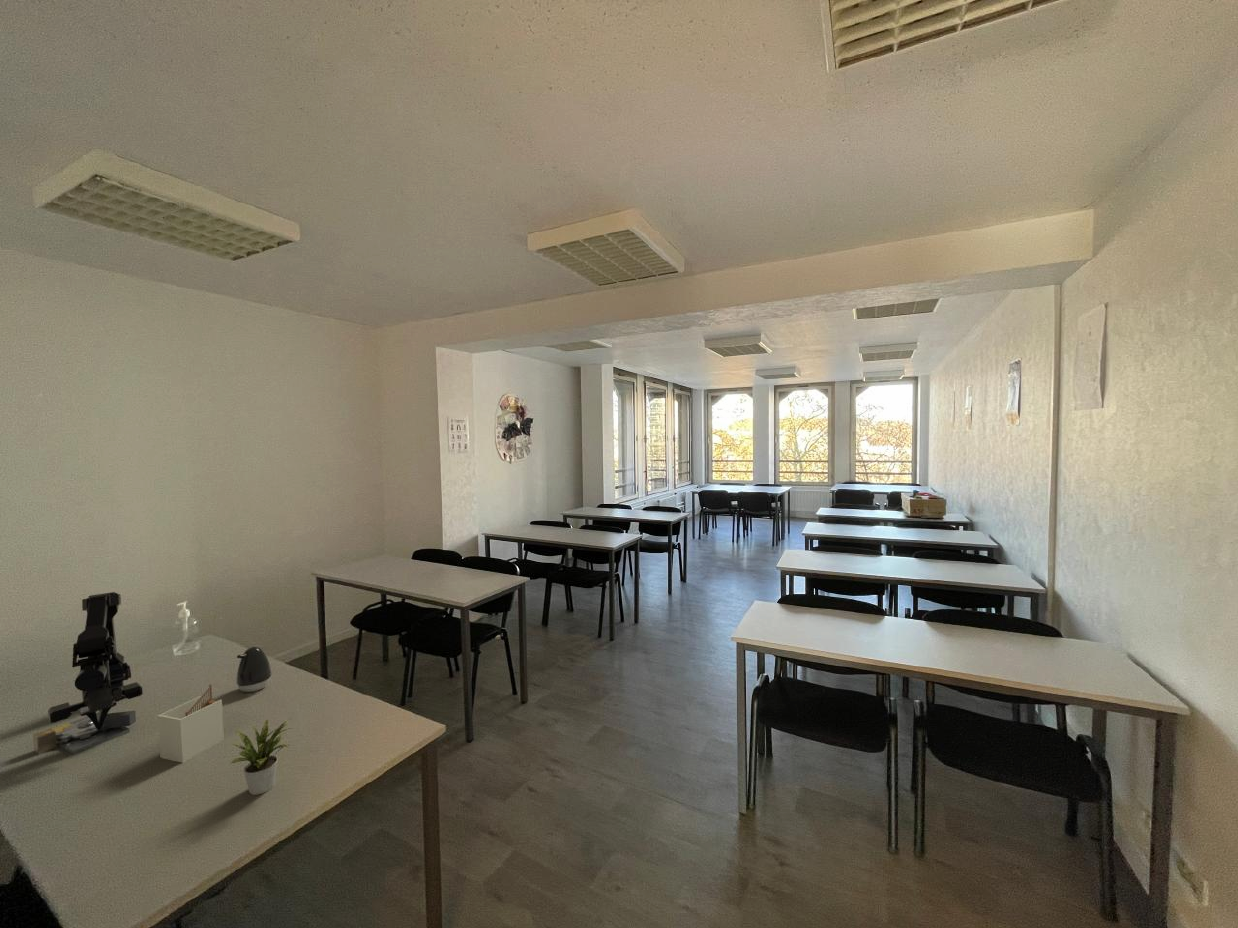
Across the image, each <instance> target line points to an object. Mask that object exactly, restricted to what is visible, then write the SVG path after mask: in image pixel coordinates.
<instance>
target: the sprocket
mask: <svg viewBox="0 0 1238 928" xmlns="http://www.w3.org/2000/svg"><path fill="white" fill-rule="evenodd" d="M86 717H87V716H86ZM83 718H84V719H83V720H82V721H79V722H76V723H74V724H68V723H67V724H68V725H66V726H64V727H62V730H63V731H60V732H57V733H56V740H58V739H60V742H68V741H70V740H73V739H78V738H80V740H81V739H84V738H88V737H90V736H91V735H92V734H95V733H97V732H99V731H105V730H107V729H108V728H115V727H123V726H125V727H130V726H132V725H133V724H135V723H136V722H137V715H136V710H126V711H120V712H119V711H118V712H111V713H109V712H108V713H107V715H106V718H105V721H104V723H103V726H102V729H100V730H97V729H96V727H95V725H94V724H93V722H92V721H91V719H90V718H89V717H87V718H85V717H83ZM98 718H99V716H98V717H97V719H98Z"/></svg>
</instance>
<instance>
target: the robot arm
mask: <svg viewBox="0 0 1238 928" xmlns="http://www.w3.org/2000/svg"><path fill="white" fill-rule="evenodd" d="M121 605H122V596H121V594H120V593H117V592H115V591H111V592H105V593H98V594H92V595H89V596H88V597H87V598H83V599H81V606H82V610H81V611H82V612H84V611H86V621H85V628H84V630H83V631H82V632H80V633H79V634H78V635H77V638H76V642H75V643H73V647H72V666H71V667H72V668H76V667H80V668H79V669H80V670H79V673H77V676H76V678H75V680H74V687H75V688H76V689H77V690H78V691H81V695H82V696H81V697H82V701H80V702H77V703H74V704H71V705H70V703H69V702H64V703H60V704H57V705H55V706H54V705H53V706H51V707H50V708H49V709H47V717H48V720H49V722H50V724H53V723H57V722H61V721H63V720H66V719H69V718H70V717H71V716H72V713H73V712H78V713H79V715H80V716H81V717H84V716H85V717H87V716H88V717H89V718H90V719H91V721H92V722H93V724H94V725H95V727H96V729H97V730H100V729H102V726H103V723H104V721H105V718H106V715H107V714H108V713H109V712H110V710H111V709H112V708H114V707H115V706H117V701H119V700H122V699H127V700H130V699H134V698H137V697H140V696H142V695H143V692H144V691H143V687H142V685H141V684H140V683H139V682H137V681H136V682H132V683H129V684H125V683H124V681H128V680H129V679H130V678H132V669H131V666H130V665H129V664H128V662H125V656H123V655H122V654H121V653H120V652H118V651H117V637H116V631H115V629H116V628H115V621H114V617H116V615H117V614H118V611H119V607H120V606H121ZM124 684H125V685H124ZM98 712H99V718H98V719H97V715H96V713H98Z"/></svg>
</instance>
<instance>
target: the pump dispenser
mask: <svg viewBox="0 0 1238 928" xmlns="http://www.w3.org/2000/svg"><path fill="white" fill-rule="evenodd" d="M236 658H237V659H240V660H239V664H238V666H237V670H236V679H235V683H236V685H237V686H238V688H239V690H240V691H242V692H245V693H253V692H257V691H260V690H261V689H264V688H265V687H266V686H267V685H268V684H269V682H270V680H271V677H272V675H273V673H272V668H271V664H270V661H269V658H268V656H267V654H266V652H265V651H264V650H263V649H262V648H261V647H259V646H251V647H249V648H247V649H246V650H244V652H243V654H238V655H237V656H236Z"/></svg>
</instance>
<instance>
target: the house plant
mask: <svg viewBox="0 0 1238 928" xmlns="http://www.w3.org/2000/svg"><path fill="white" fill-rule="evenodd" d="M291 719H292V718H291V717H290V718H288V719H287V720H285V721H284V722H282V723H281V724H280V725H279V726H278V727H277V728H275V729H273V730H272V731H270V732H269V730H270V729H269V719H266V720H265V722H264V724H263V726H262V728H261V732H260V734H259V732H258V730H257V728H256V727H255V726H252V727H253V731H254V733H255V738H254V740H256V745H257V748H258V749H257V750H256V749H255V747H254V745H253V743H252V741H251V739H250V737H249V736H248V735H247V734H245V733H242V732H240V731H236V730H235V733H236V734H237V735H238V736H239V737H240V739H241V741H242V742H243V744H244V746H243V745H241V744H238V743H231V745H233V746H235V747H238V748H239V749H241V750H242V751H239V755H240V756H241V757H237V758H235V759H233V760H231V762H230V763H229V765H231V764H235V763H236V764H237V763H240V762H245V761H246V762H248V763H247V764H246V765H244V768H243V774H244V777H245V781H246V785H247V788H248V792H249V793H250V795H254V796H257V795H261V794H264V793H266V792H268V791H270V790H272V788H273V787H275V784H276V777H277V776H276V775H277V769H278V763H279V762H278V761H279V758H278V756H277V755H276V754H277V753H278V752H279V751H280V750H282V749H283V748H287V747H288V748H290V744H284V743H283V744H279V743H280V742H281V741H282V740H283V739H284V737H282V736H284V733H283V732H285V731H287V730H291V729H293V727H288V728H284V727H285V726H287V725H288V724H286V723H288V722H289V721H290V720H291ZM271 734H272V735H271ZM279 734H280V735H279ZM270 735H271V736H270ZM278 735H279V736H278ZM269 736H270V738H269V739H267V738H268V737H269ZM275 750H277V751H276V752H275V753H274V754H272V753H273V752H274V751H275Z"/></svg>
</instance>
